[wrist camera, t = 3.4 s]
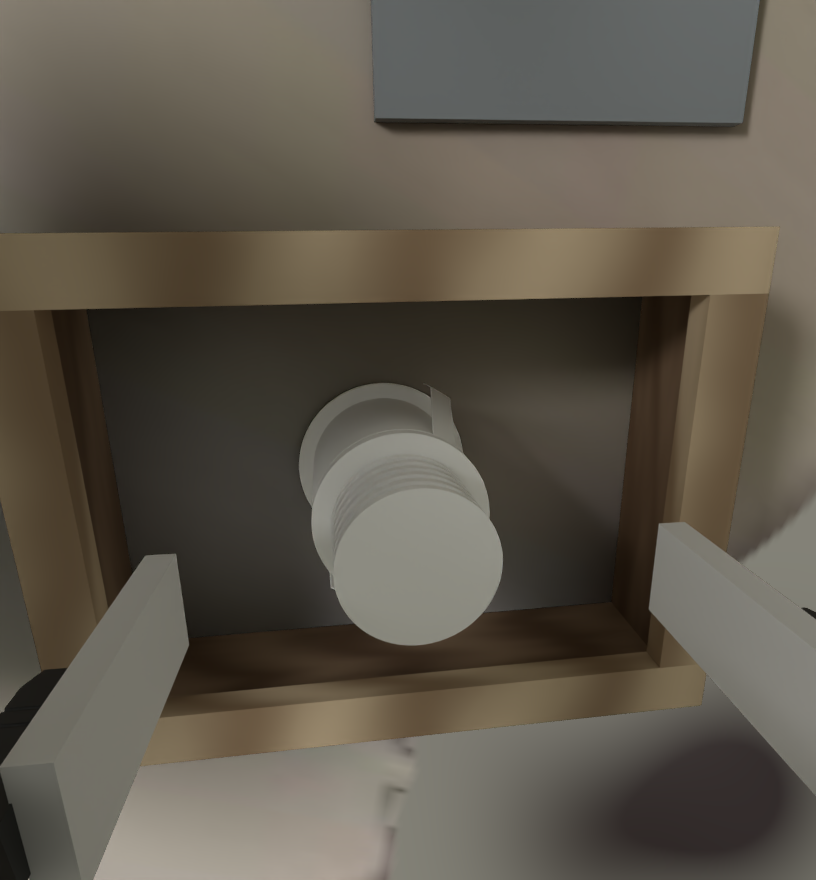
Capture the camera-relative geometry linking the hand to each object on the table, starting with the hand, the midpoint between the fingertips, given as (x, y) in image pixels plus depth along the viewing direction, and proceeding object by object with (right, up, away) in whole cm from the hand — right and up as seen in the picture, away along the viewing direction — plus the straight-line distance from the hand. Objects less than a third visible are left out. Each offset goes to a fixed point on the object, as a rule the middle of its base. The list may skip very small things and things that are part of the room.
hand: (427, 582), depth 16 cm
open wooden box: (-2, +3, +9) cm, 10 cm away
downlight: (-2, +3, +9) cm, 10 cm away
